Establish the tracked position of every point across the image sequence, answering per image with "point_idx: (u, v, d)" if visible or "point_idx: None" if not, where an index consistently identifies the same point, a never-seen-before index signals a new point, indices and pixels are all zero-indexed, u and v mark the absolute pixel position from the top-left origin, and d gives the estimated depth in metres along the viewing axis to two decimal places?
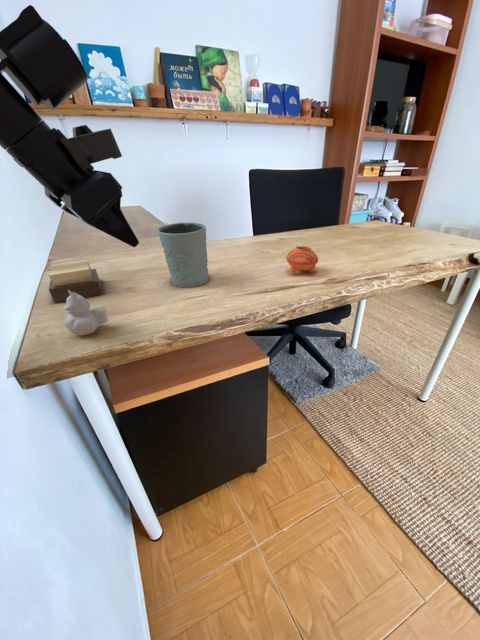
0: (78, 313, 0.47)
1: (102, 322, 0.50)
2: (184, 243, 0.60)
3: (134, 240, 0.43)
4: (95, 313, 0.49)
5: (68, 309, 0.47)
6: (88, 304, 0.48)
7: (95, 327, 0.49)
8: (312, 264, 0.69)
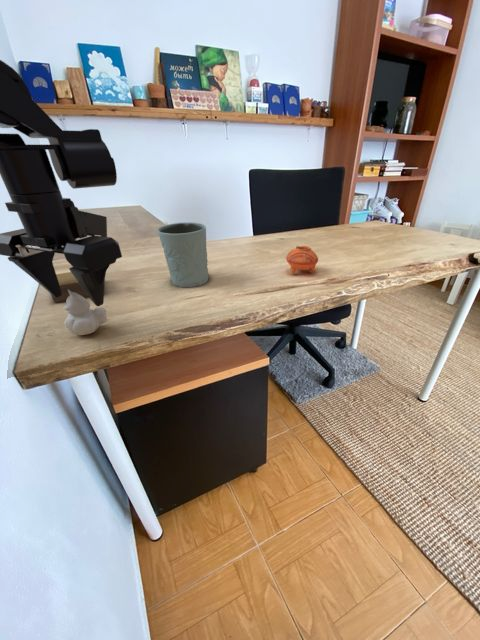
0: (78, 313, 0.47)
1: (102, 322, 0.50)
2: (184, 243, 0.60)
3: (100, 300, 0.46)
4: (95, 313, 0.49)
5: (68, 309, 0.47)
6: (88, 304, 0.48)
7: (95, 327, 0.49)
8: (312, 264, 0.69)
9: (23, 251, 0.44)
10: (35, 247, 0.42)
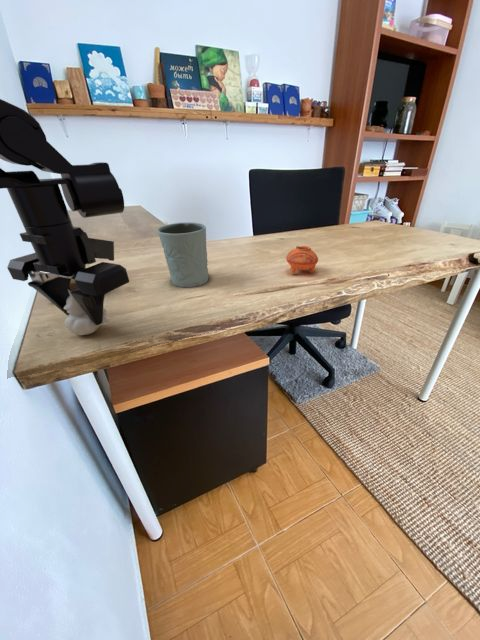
0: (78, 313, 0.47)
1: (102, 322, 0.50)
2: (184, 243, 0.60)
3: (99, 319, 0.48)
4: None
5: (68, 309, 0.47)
6: None
7: (95, 327, 0.49)
8: (312, 264, 0.69)
9: (43, 277, 0.45)
10: (55, 274, 0.44)
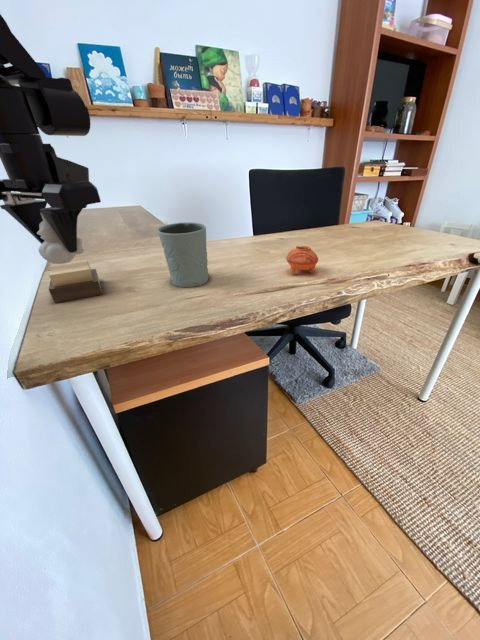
0: (51, 238, 0.46)
1: (77, 252, 0.49)
2: (184, 243, 0.60)
3: (73, 246, 0.48)
4: None
5: (41, 233, 0.46)
6: None
7: (70, 255, 0.48)
8: (312, 264, 0.69)
9: (14, 199, 0.45)
10: (25, 193, 0.43)
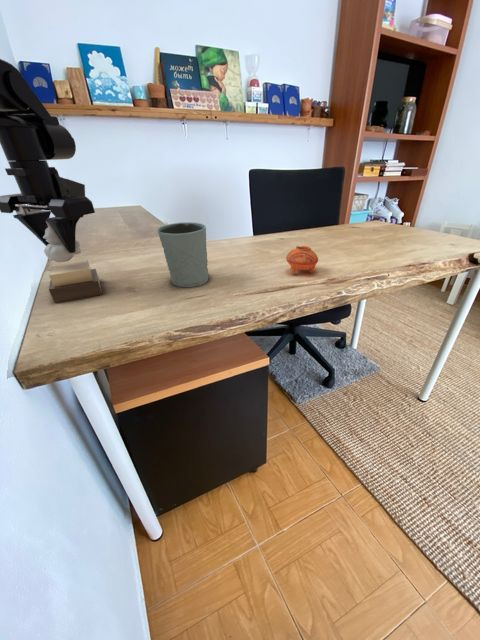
0: (54, 241, 0.58)
1: (76, 252, 0.60)
2: (184, 243, 0.60)
3: (72, 248, 0.59)
4: None
5: (46, 237, 0.57)
6: None
7: (69, 255, 0.59)
8: (312, 264, 0.69)
9: (25, 210, 0.56)
10: (34, 205, 0.54)
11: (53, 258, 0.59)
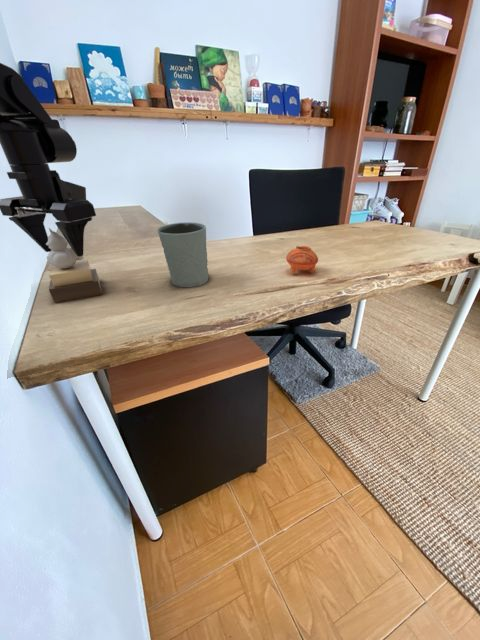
0: (57, 248, 0.58)
1: (78, 259, 0.61)
2: (184, 243, 0.60)
3: (81, 251, 0.59)
4: (72, 250, 0.60)
5: (49, 244, 0.58)
6: (66, 242, 0.59)
7: (72, 262, 0.60)
8: (312, 264, 0.69)
9: (20, 212, 0.57)
10: (29, 208, 0.55)
11: (56, 265, 0.59)
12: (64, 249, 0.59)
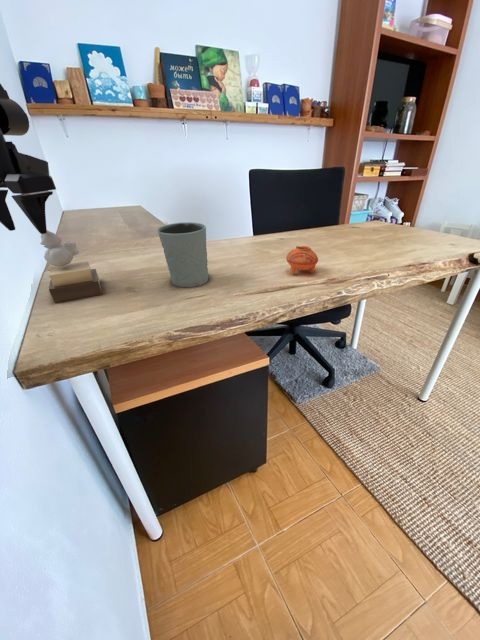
0: (51, 245, 0.58)
1: (74, 253, 0.61)
2: (184, 243, 0.60)
3: (43, 228, 0.56)
4: (66, 245, 0.60)
5: (43, 243, 0.58)
6: (58, 238, 0.59)
7: (68, 256, 0.60)
8: (312, 264, 0.69)
9: None
10: None
11: (53, 262, 0.59)
12: (58, 245, 0.59)
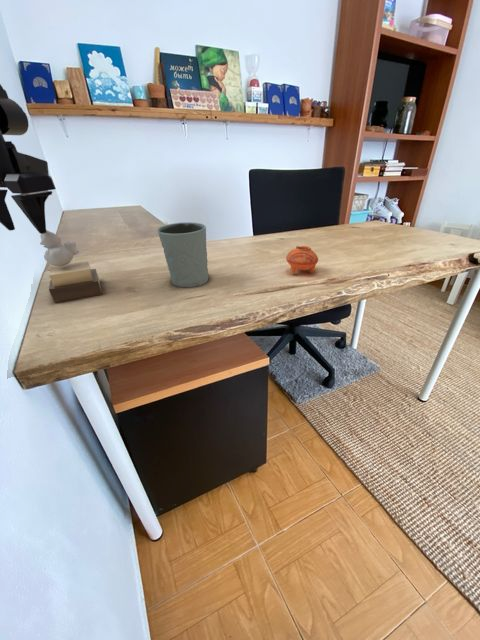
0: (51, 245, 0.58)
1: (73, 253, 0.61)
2: (184, 243, 0.60)
3: (43, 228, 0.56)
4: (66, 245, 0.60)
5: (43, 242, 0.58)
6: (58, 237, 0.59)
7: (67, 256, 0.60)
8: (312, 264, 0.69)
9: None
10: None
11: (53, 262, 0.59)
12: (58, 245, 0.59)
